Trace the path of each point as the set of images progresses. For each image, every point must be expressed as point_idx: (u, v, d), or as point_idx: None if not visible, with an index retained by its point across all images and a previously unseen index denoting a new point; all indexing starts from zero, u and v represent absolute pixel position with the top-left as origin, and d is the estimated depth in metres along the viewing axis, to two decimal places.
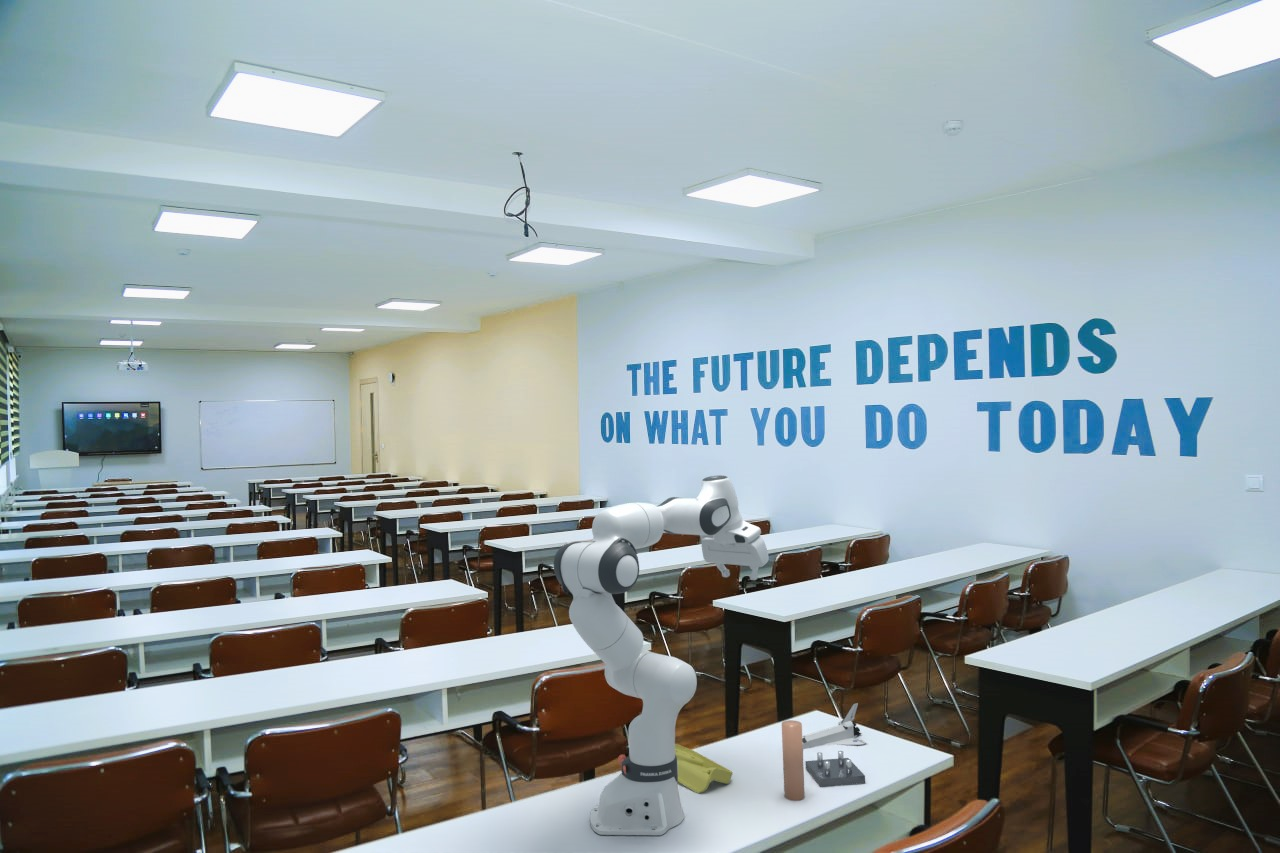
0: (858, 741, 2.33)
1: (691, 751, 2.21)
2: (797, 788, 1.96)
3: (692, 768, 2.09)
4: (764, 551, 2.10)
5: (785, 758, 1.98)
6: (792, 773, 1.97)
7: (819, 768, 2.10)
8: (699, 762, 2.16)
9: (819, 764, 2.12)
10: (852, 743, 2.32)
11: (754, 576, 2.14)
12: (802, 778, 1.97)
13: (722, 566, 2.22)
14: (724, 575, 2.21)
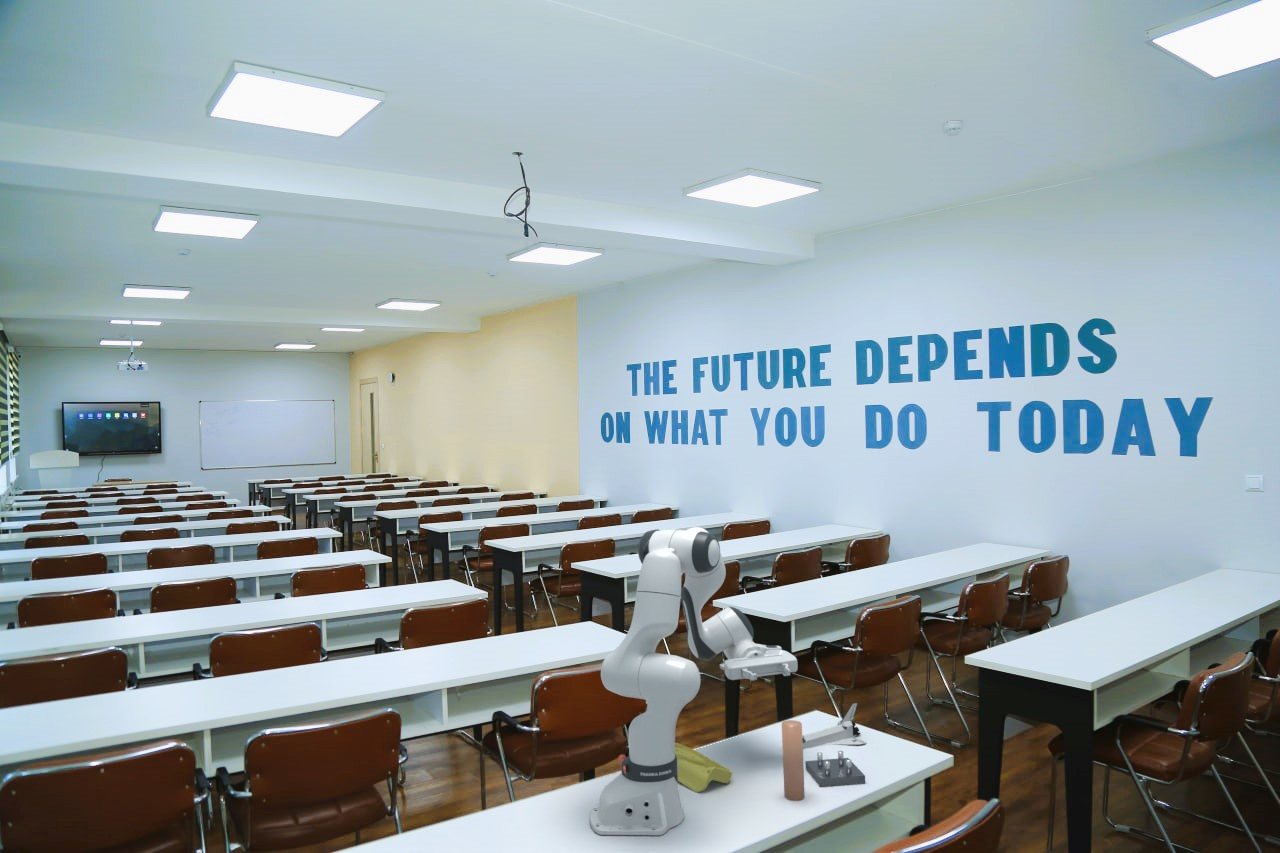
0: (857, 741, 2.33)
1: (692, 750, 2.21)
2: (797, 788, 1.96)
3: (692, 767, 2.10)
4: None
5: (785, 758, 1.98)
6: (792, 773, 1.97)
7: (819, 768, 2.10)
8: (700, 762, 2.16)
9: (819, 764, 2.12)
10: (851, 743, 2.32)
11: None
12: (802, 778, 1.97)
13: None
14: (753, 673, 2.11)
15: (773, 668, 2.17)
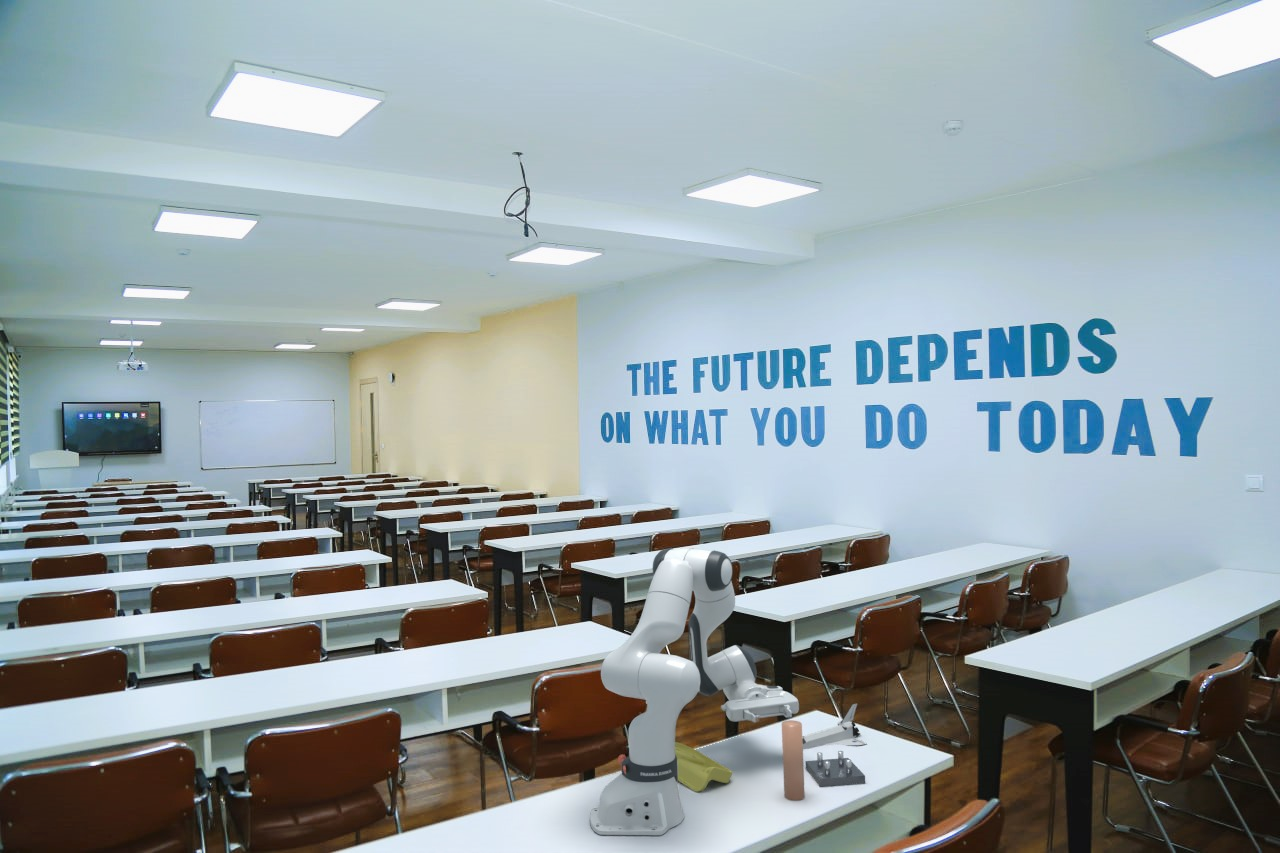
0: (857, 742, 2.33)
1: (693, 750, 2.21)
2: (797, 788, 1.96)
3: (692, 767, 2.10)
4: None
5: (785, 758, 1.98)
6: (792, 773, 1.97)
7: (819, 768, 2.10)
8: (700, 761, 2.16)
9: (819, 764, 2.12)
10: (851, 743, 2.32)
11: None
12: (802, 778, 1.97)
13: None
14: (755, 715, 2.11)
15: (774, 709, 2.17)
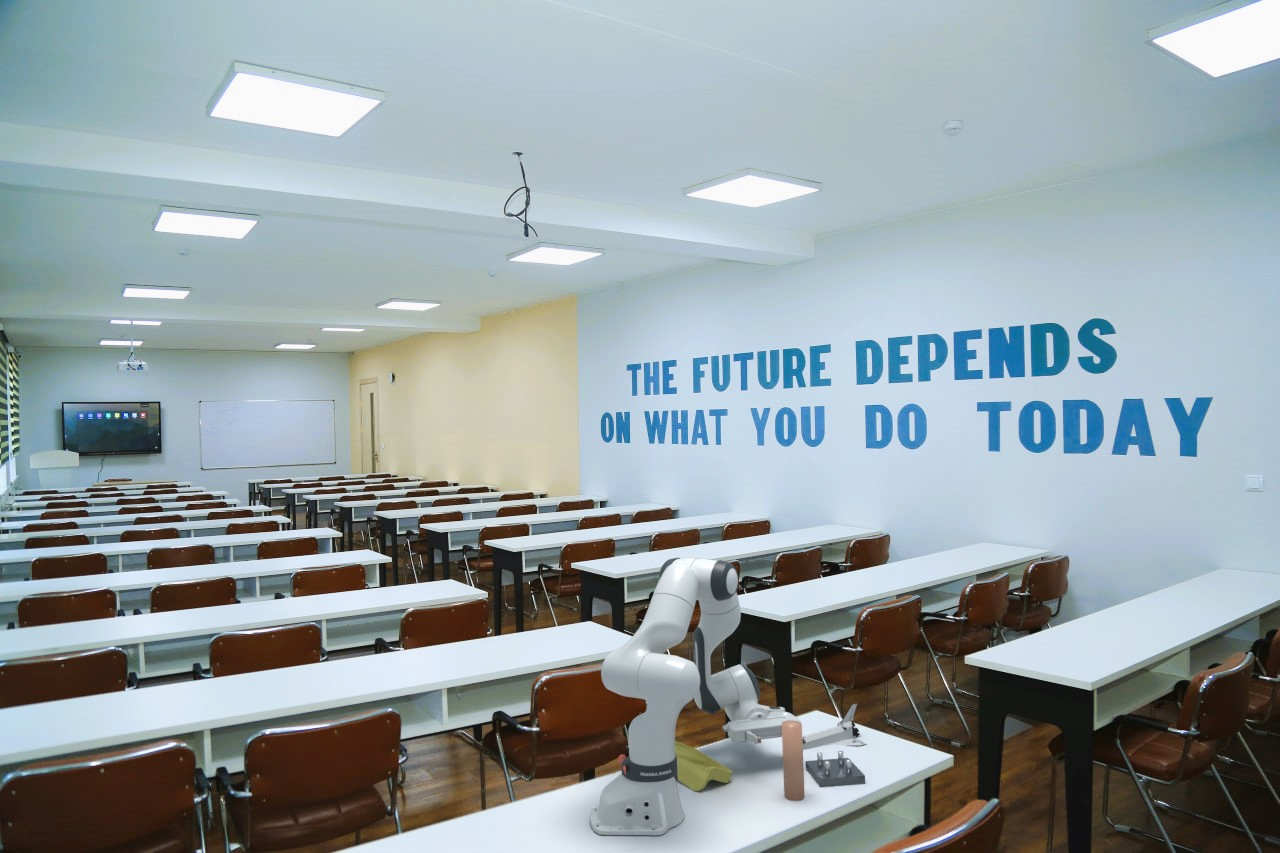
0: (857, 742, 2.32)
1: (694, 750, 2.22)
2: (797, 788, 1.96)
3: (692, 767, 2.10)
4: None
5: (785, 758, 1.98)
6: (792, 773, 1.97)
7: (819, 768, 2.10)
8: (701, 761, 2.17)
9: (819, 764, 2.12)
10: (851, 744, 2.31)
11: None
12: (802, 778, 1.97)
13: None
14: (757, 736, 2.09)
15: (777, 730, 2.15)
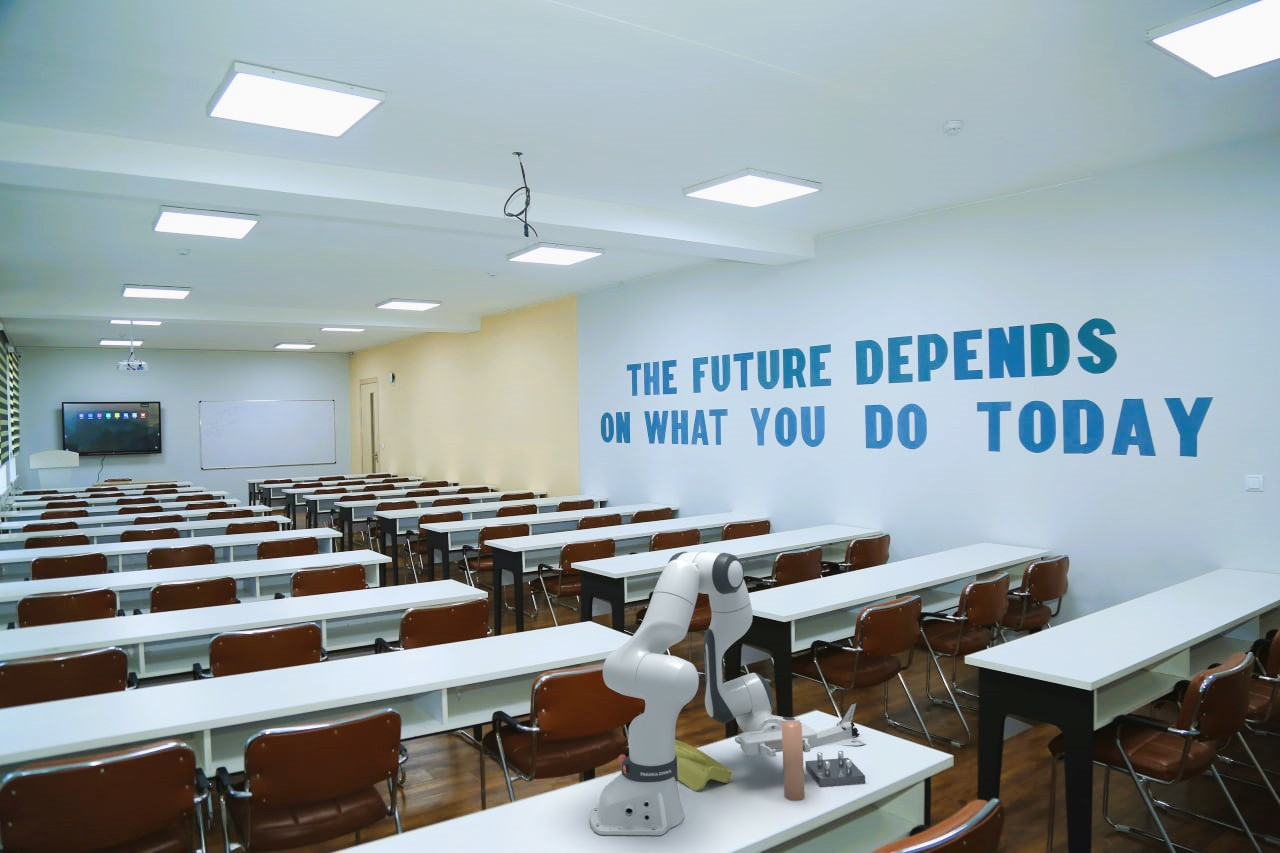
0: (856, 742, 2.32)
1: (695, 749, 2.22)
2: (797, 788, 1.96)
3: (692, 766, 2.10)
4: None
5: (785, 758, 1.98)
6: (792, 773, 1.97)
7: (819, 768, 2.10)
8: (701, 760, 2.17)
9: (819, 764, 2.12)
10: (850, 744, 2.31)
11: None
12: (802, 778, 1.97)
13: None
14: (772, 749, 2.00)
15: None
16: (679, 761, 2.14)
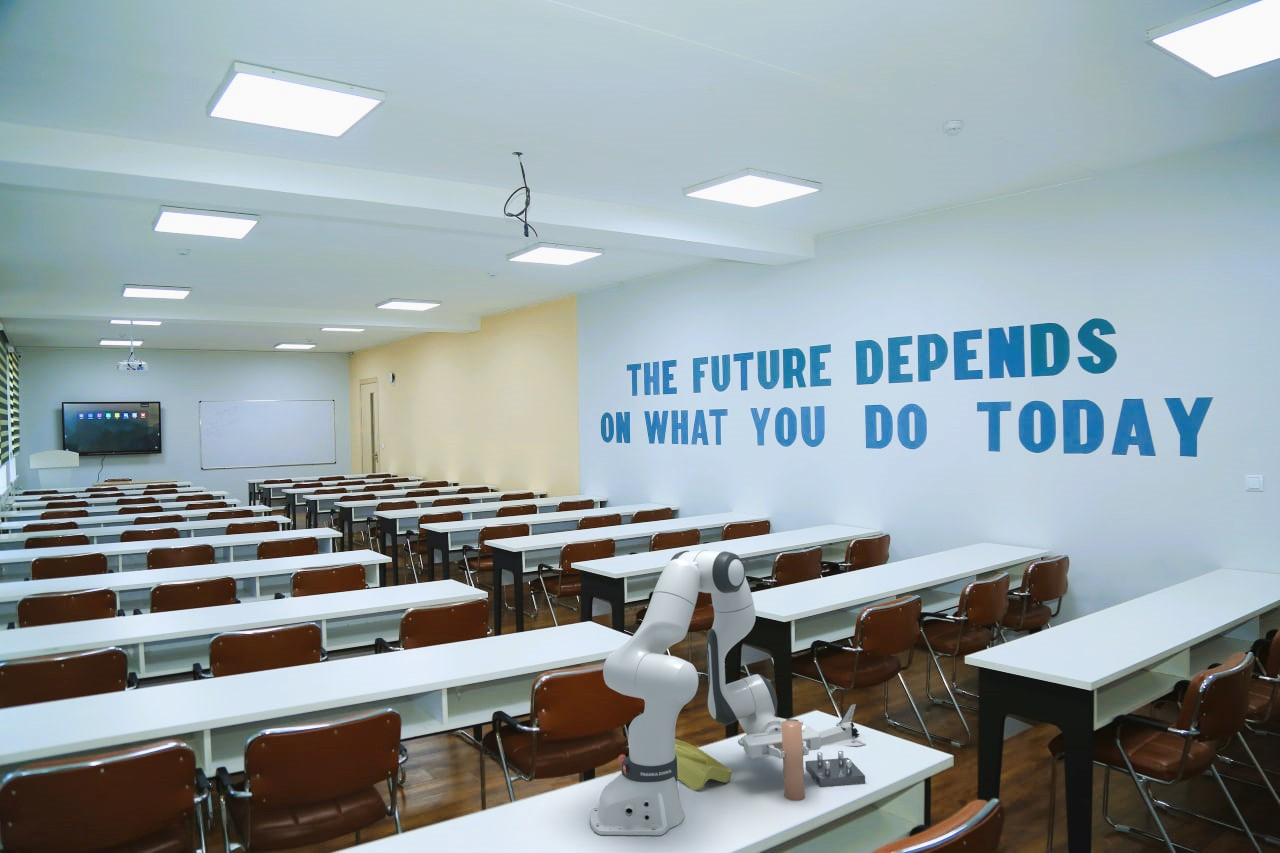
0: (856, 742, 2.32)
1: (696, 749, 2.22)
2: (797, 788, 1.96)
3: (692, 765, 2.11)
4: None
5: (785, 758, 1.98)
6: (792, 773, 1.97)
7: (819, 768, 2.10)
8: (702, 760, 2.17)
9: (819, 764, 2.12)
10: (850, 744, 2.31)
11: None
12: (802, 778, 1.97)
13: None
14: (781, 750, 1.98)
15: None
16: (679, 760, 2.15)
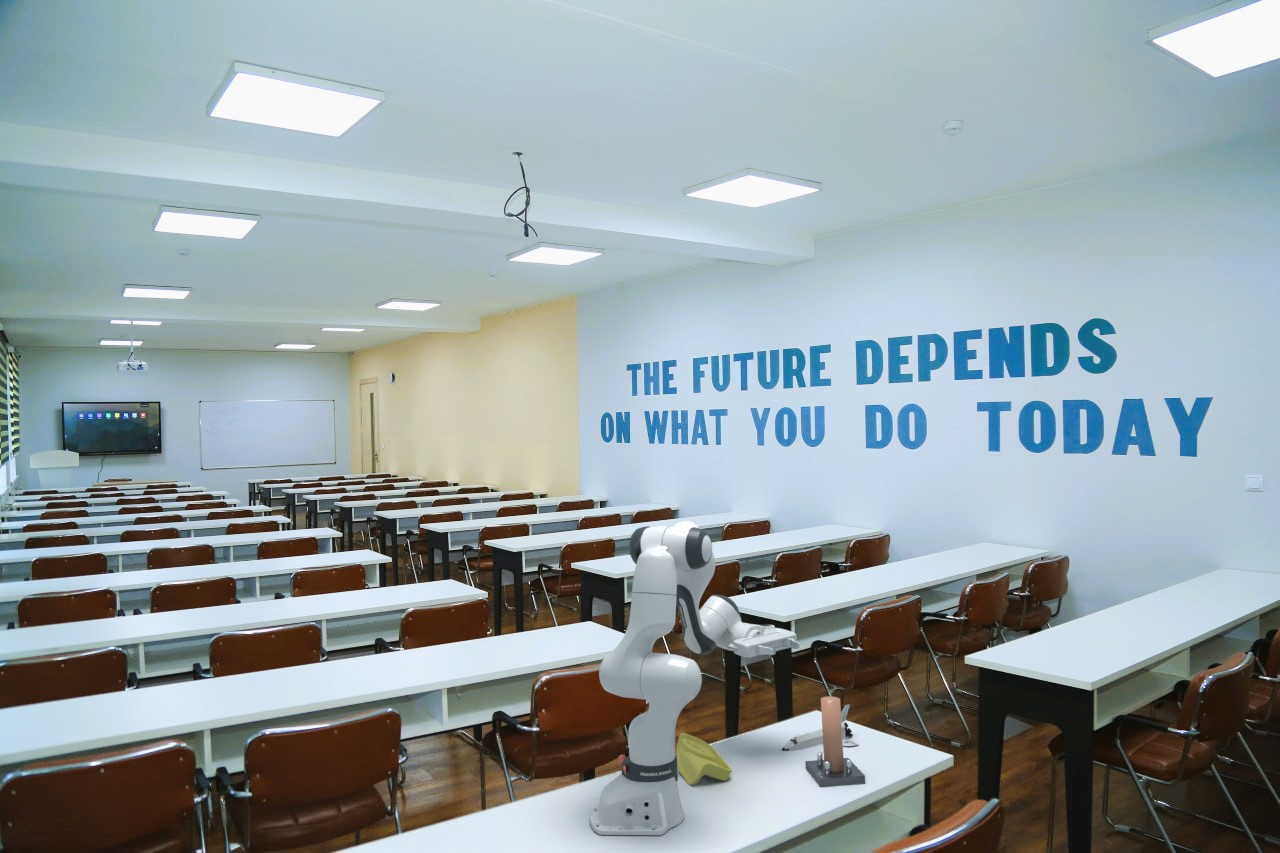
0: (849, 743, 2.32)
1: (707, 745, 2.25)
2: (840, 759, 2.08)
3: (693, 761, 2.14)
4: None
5: (828, 733, 2.09)
6: (835, 745, 2.08)
7: (819, 768, 2.10)
8: (709, 757, 2.19)
9: (819, 764, 2.12)
10: (843, 744, 2.31)
11: None
12: (842, 749, 2.10)
13: None
14: (772, 648, 2.16)
15: (778, 643, 2.24)
16: (684, 755, 2.18)
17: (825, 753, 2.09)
